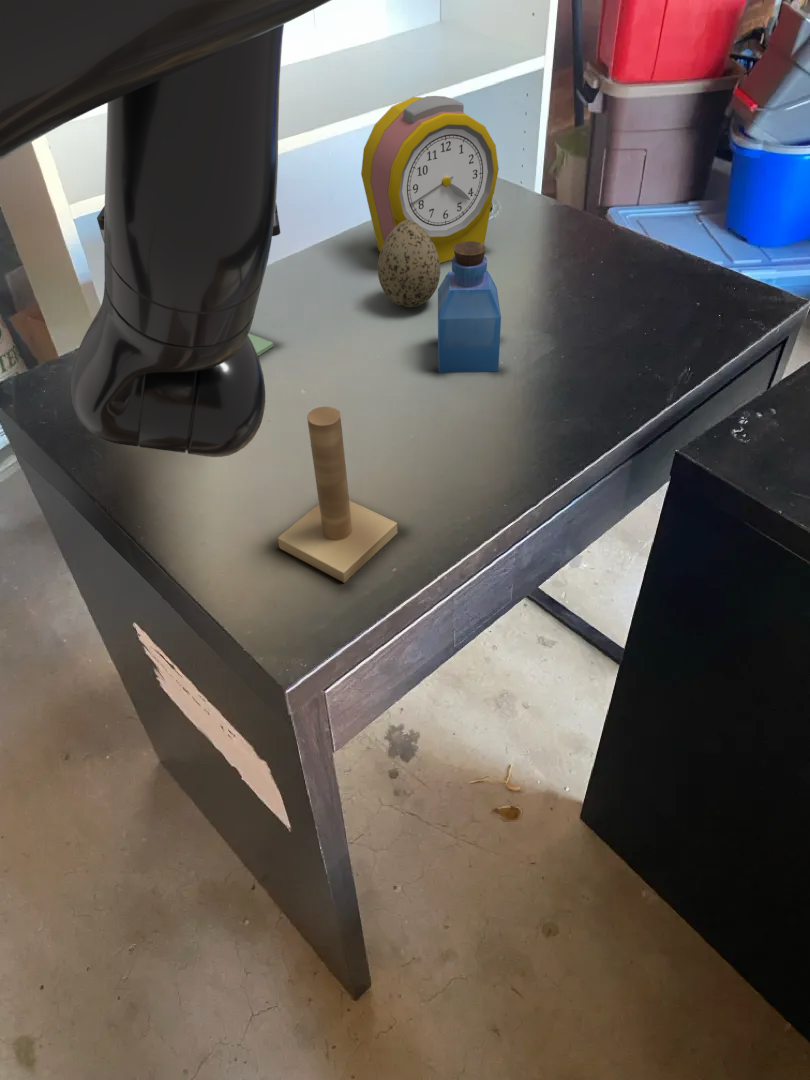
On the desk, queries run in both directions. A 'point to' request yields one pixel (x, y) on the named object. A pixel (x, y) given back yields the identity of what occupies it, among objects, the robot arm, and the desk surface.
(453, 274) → the perfume bottle
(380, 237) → the alarm clock
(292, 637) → the desk surface
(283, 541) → the stand
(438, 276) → the decorative egg
